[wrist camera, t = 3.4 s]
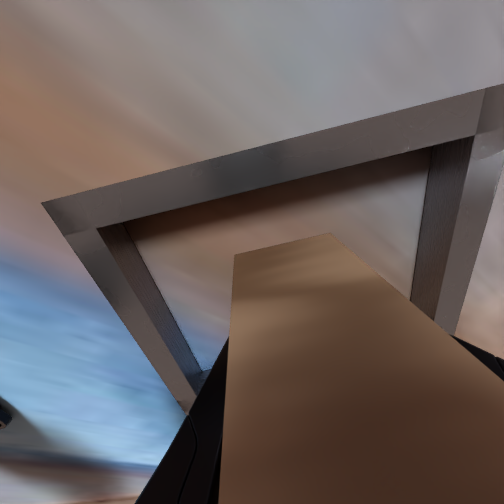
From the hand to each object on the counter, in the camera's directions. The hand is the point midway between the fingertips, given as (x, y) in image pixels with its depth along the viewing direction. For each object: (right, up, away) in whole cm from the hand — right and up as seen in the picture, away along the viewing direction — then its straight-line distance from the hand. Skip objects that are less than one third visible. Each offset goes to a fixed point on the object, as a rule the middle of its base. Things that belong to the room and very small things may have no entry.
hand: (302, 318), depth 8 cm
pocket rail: (+1, -4, +5) cm, 6 cm away
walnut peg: (0, +1, +2) cm, 2 cm away
